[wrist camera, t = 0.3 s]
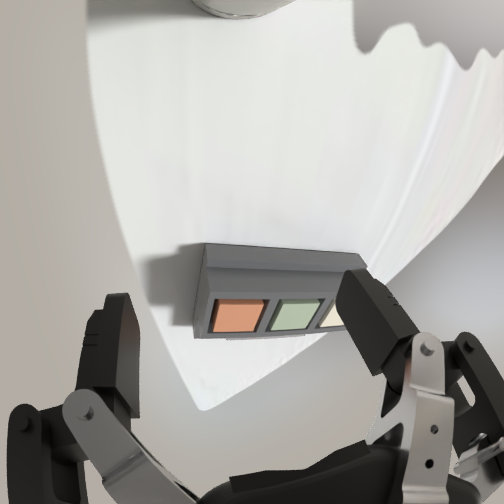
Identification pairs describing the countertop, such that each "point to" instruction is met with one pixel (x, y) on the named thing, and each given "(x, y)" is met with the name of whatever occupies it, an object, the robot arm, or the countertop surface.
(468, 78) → the countertop surface
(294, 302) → the key sage
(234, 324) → the key terracotta
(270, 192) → the countertop surface
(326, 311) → the key cream
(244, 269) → the keypad
